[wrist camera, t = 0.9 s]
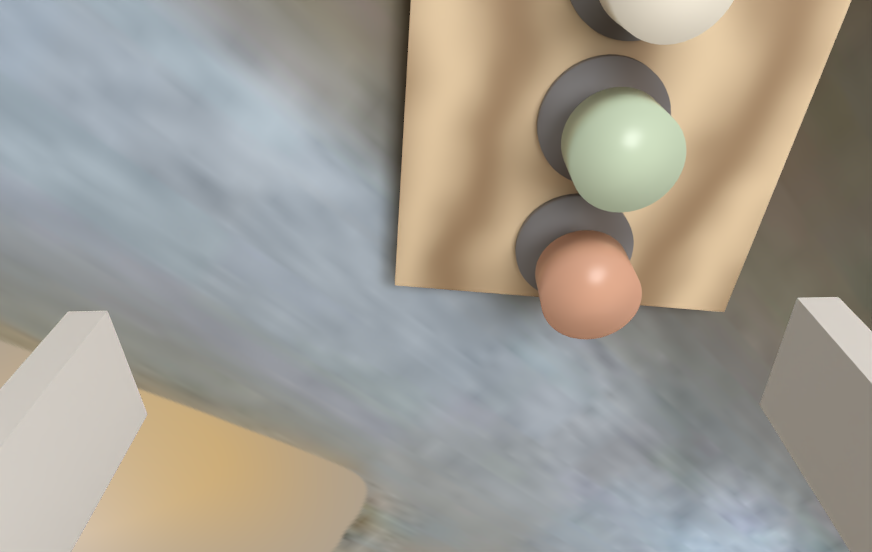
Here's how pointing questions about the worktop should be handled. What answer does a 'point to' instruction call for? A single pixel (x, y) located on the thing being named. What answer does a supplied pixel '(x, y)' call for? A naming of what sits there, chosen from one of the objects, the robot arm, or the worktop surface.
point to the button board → (543, 126)
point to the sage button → (622, 149)
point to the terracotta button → (587, 285)
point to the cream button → (666, 18)
